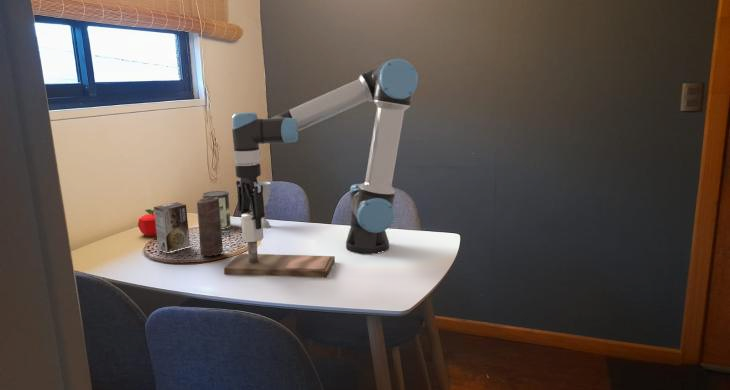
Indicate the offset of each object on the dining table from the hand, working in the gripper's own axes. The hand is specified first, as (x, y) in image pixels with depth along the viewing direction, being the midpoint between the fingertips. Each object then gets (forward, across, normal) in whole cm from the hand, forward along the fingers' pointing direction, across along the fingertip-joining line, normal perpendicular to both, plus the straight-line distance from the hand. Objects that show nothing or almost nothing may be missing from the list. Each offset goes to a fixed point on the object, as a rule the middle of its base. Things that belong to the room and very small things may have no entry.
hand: (252, 236), depth 166 cm
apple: (+10, +60, +13) cm, 62 cm away
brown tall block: (+10, +20, +6) cm, 23 cm away
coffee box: (+10, +35, +14) cm, 39 cm away
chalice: (+10, +41, -25) cm, 49 cm away
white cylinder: (+1, 0, 0) cm, 1 cm away
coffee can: (+10, +53, -10) cm, 55 cm away
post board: (+10, -6, -6) cm, 13 cm away
